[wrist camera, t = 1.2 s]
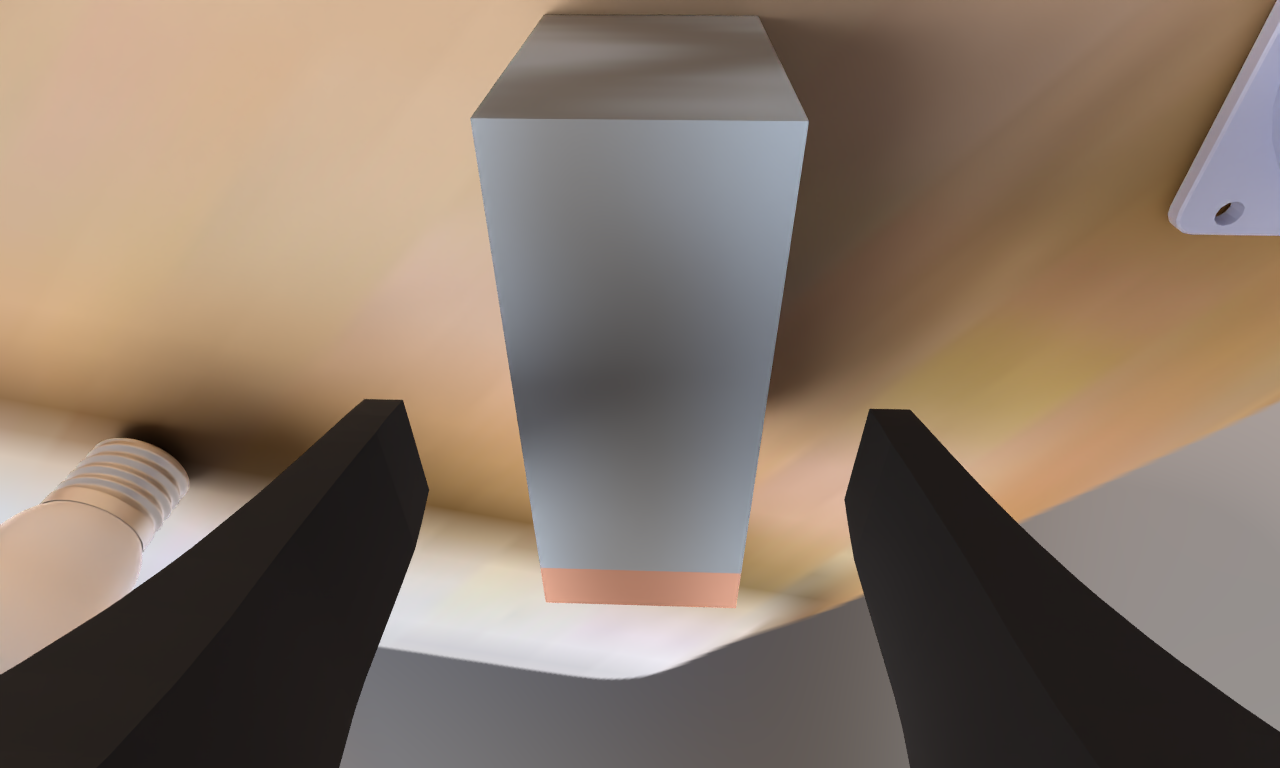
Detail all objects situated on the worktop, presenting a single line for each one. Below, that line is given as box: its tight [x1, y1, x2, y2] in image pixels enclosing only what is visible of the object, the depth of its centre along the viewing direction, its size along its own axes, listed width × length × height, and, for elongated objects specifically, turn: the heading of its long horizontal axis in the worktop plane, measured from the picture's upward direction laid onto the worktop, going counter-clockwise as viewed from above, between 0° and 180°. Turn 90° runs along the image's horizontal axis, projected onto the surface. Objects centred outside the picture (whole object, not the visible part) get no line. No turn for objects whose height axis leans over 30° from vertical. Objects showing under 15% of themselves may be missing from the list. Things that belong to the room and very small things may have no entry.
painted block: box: [470, 15, 809, 608], centre depth 13 cm, size 4×10×6 cm, turn 0°
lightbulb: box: [0, 438, 190, 674], centre depth 16 cm, size 6×6×11 cm
